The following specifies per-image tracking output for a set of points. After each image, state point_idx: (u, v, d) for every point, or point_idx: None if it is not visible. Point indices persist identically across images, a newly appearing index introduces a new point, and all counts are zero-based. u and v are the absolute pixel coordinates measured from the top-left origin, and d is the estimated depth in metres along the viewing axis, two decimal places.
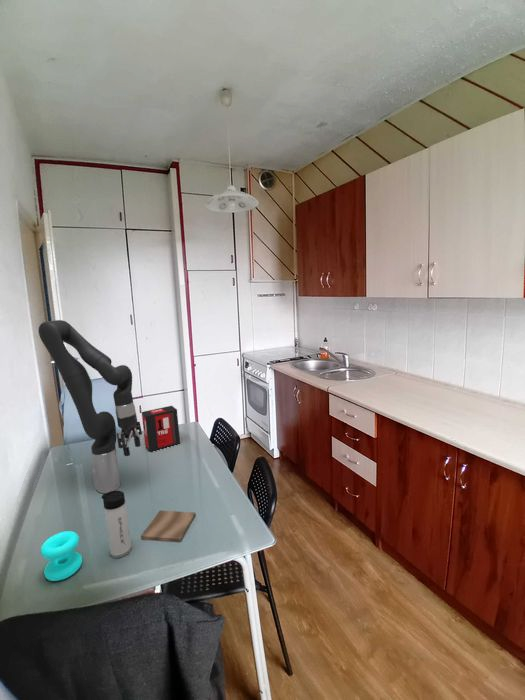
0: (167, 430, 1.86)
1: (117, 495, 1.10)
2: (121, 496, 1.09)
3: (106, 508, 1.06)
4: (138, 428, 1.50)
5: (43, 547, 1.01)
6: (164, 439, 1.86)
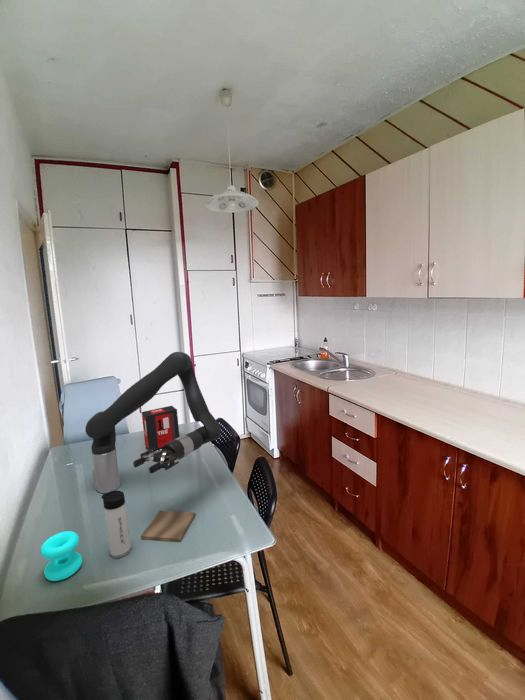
0: (167, 430, 1.86)
1: (117, 495, 1.10)
2: (121, 496, 1.09)
3: (106, 508, 1.06)
4: None
5: (43, 547, 1.01)
6: (164, 439, 1.86)
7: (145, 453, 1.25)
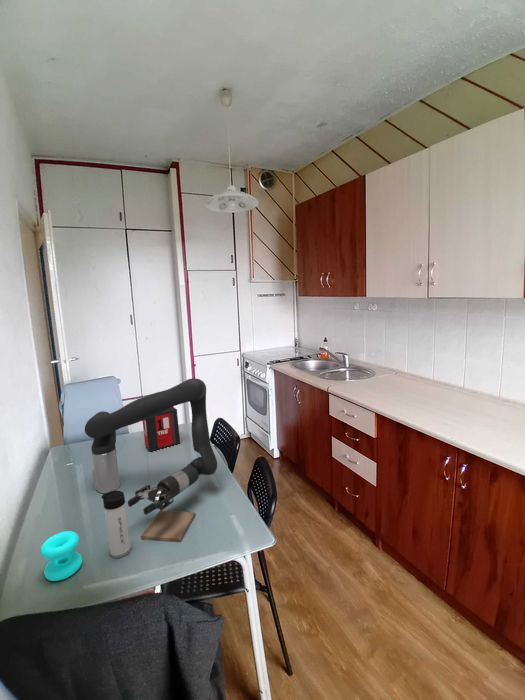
0: (167, 430, 1.86)
1: (117, 495, 1.10)
2: (121, 496, 1.09)
3: (106, 508, 1.06)
4: None
5: (43, 547, 1.01)
6: (164, 439, 1.86)
7: (140, 491, 1.24)
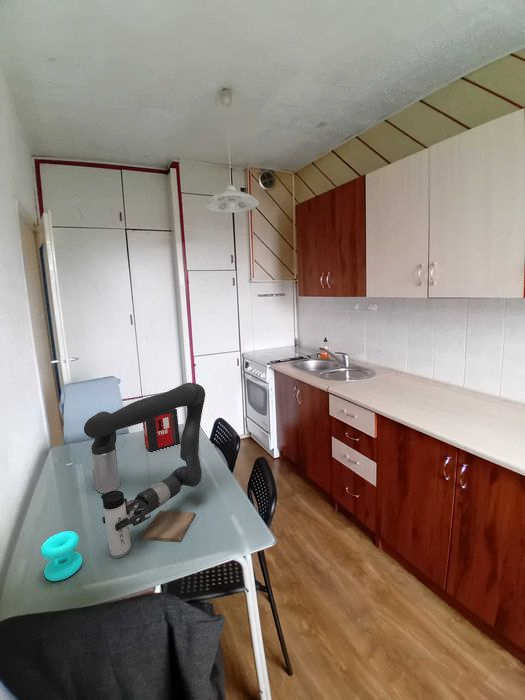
0: (167, 430, 1.86)
1: (116, 495, 1.10)
2: (120, 496, 1.09)
3: (105, 508, 1.06)
4: None
5: (43, 547, 1.01)
6: (164, 439, 1.86)
7: None
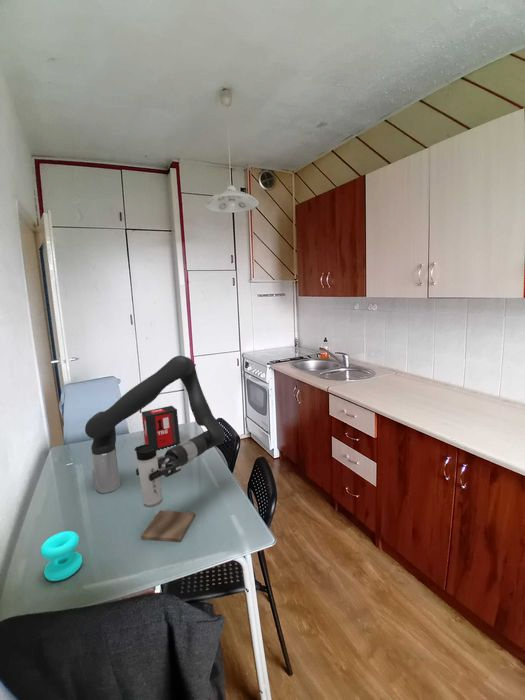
0: (167, 430, 1.86)
1: (149, 448, 1.15)
2: (153, 449, 1.15)
3: (139, 459, 1.12)
4: None
5: (43, 547, 1.01)
6: (164, 439, 1.86)
7: None
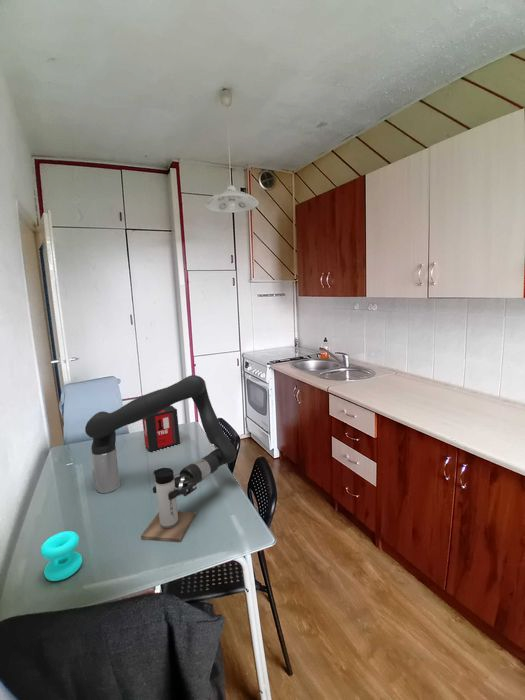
0: (167, 430, 1.86)
1: (167, 471, 1.20)
2: (170, 472, 1.20)
3: (158, 483, 1.17)
4: None
5: (43, 547, 1.01)
6: (164, 439, 1.86)
7: None
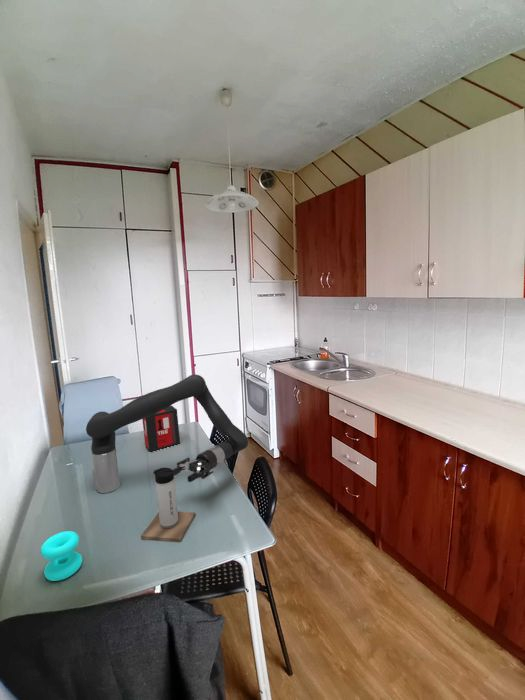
0: (167, 430, 1.86)
1: (167, 471, 1.21)
2: (170, 472, 1.20)
3: (158, 482, 1.17)
4: (184, 465, 1.36)
5: (43, 547, 1.01)
6: (164, 439, 1.86)
7: (181, 462, 1.34)
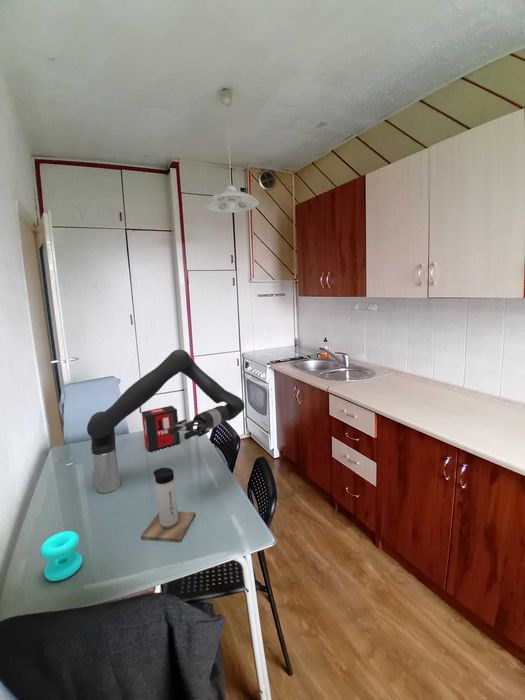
0: (167, 430, 1.86)
1: (167, 471, 1.21)
2: (170, 472, 1.20)
3: (158, 482, 1.17)
4: (181, 426, 1.37)
5: (43, 547, 1.01)
6: (164, 439, 1.86)
7: (178, 423, 1.36)
